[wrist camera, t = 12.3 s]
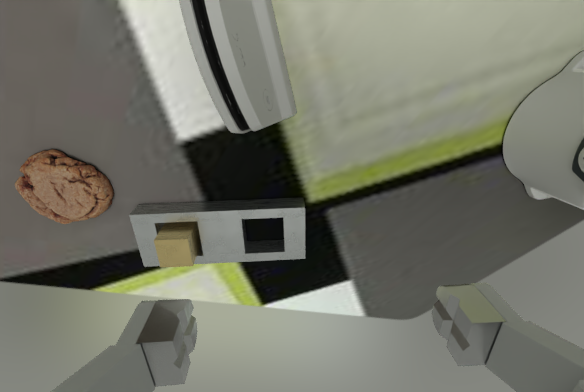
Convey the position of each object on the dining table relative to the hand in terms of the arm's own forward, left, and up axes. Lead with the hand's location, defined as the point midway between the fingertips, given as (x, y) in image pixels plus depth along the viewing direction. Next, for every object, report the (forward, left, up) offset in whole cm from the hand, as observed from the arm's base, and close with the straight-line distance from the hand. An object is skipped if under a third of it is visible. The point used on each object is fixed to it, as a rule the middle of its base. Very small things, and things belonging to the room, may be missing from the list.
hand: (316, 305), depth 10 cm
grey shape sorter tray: (+9, +14, -29) cm, 33 cm away
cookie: (+28, +7, -30) cm, 41 cm away
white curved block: (+4, -8, -30) cm, 31 cm away
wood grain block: (+14, +14, -29) cm, 35 cm away
